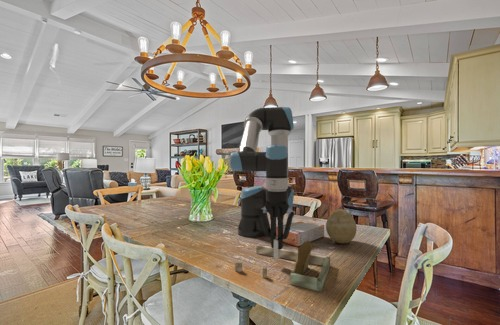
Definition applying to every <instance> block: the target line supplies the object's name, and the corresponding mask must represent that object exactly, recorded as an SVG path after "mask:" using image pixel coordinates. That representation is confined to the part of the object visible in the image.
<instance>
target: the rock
mask: <svg viewBox="0 0 500 325" xmlns="http://www.w3.org/2000/svg"><path fill="white" fill-rule="evenodd" d="M312 248H313V243H312V241H311V242H309V241H306V242H304V243H303V244H302V245H300V246H298V248H297V249H298V250H297V252H298V253H297V256H296V261H295V262H294V266H293V273H296V274H300V275H304V273H305V272H306V271H307V269H308V267H309V264H310V263H309V258H310V254H312Z"/></svg>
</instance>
